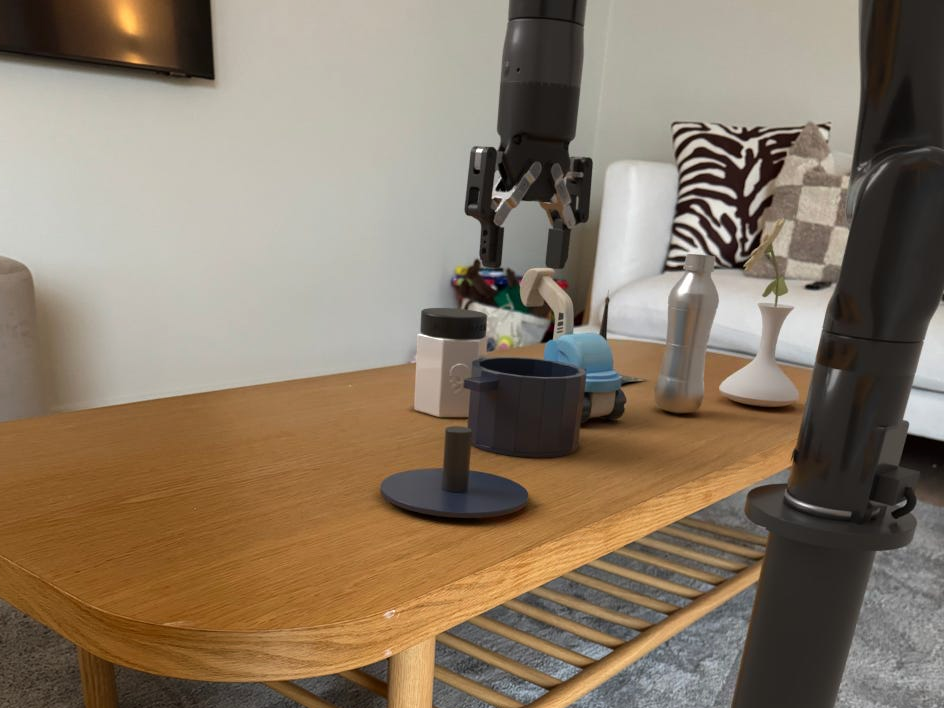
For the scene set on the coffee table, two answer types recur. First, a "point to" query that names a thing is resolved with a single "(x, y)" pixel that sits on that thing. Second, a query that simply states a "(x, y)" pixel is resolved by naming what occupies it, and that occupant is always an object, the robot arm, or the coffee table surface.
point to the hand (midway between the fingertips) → (523, 267)
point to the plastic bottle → (687, 337)
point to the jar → (447, 359)
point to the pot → (525, 406)
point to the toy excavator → (576, 347)
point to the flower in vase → (765, 346)
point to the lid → (454, 485)
